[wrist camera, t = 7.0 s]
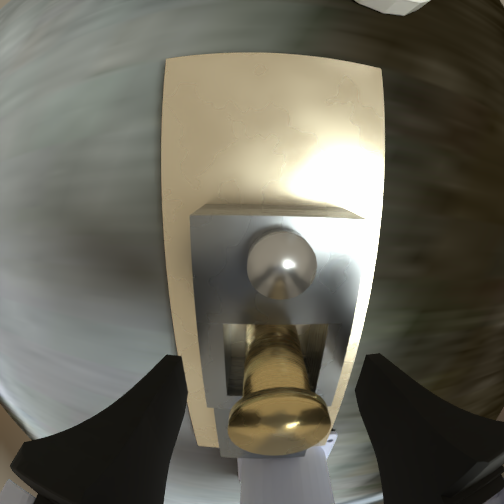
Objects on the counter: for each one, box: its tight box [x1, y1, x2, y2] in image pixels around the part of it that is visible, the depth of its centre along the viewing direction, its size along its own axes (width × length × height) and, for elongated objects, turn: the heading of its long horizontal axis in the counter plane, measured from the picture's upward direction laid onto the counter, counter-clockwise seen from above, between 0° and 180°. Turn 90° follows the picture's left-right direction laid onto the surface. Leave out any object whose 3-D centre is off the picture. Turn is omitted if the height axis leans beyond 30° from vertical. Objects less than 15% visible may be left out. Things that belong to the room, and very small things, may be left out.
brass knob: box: [228, 324, 331, 456], centre depth 10 cm, size 3×3×7 cm
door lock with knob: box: [161, 53, 385, 459], centre depth 12 cm, size 25×10×5 cm, turn 179°
